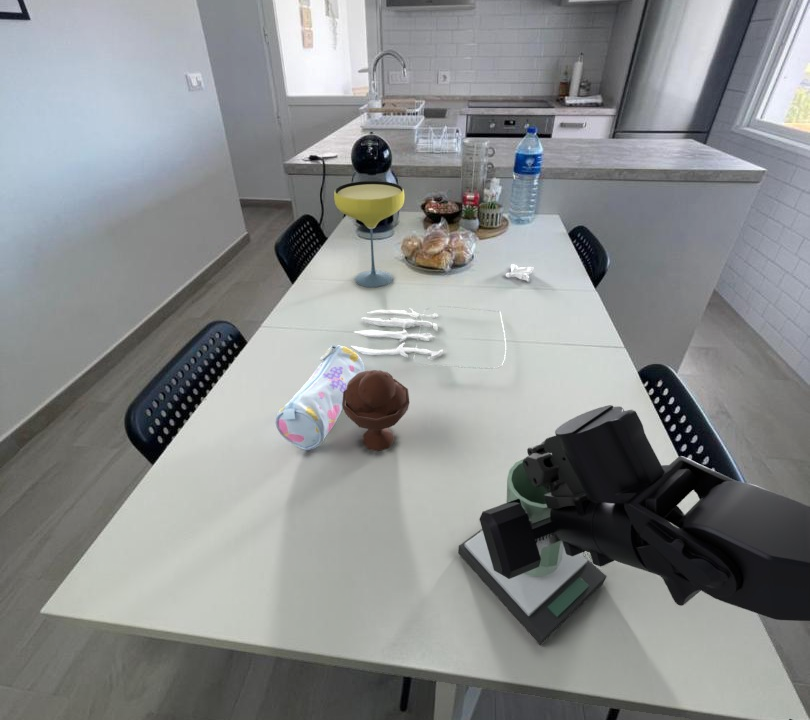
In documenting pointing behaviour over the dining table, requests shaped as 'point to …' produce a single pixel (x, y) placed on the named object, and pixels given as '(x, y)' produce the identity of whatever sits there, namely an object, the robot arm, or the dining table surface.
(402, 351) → the knife set
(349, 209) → the cocktail glass
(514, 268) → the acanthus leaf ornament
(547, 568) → the tumbler
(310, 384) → the pencil case
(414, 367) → the dining table surface
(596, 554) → the robot arm
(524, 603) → the scale
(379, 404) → the ice cream bowl
